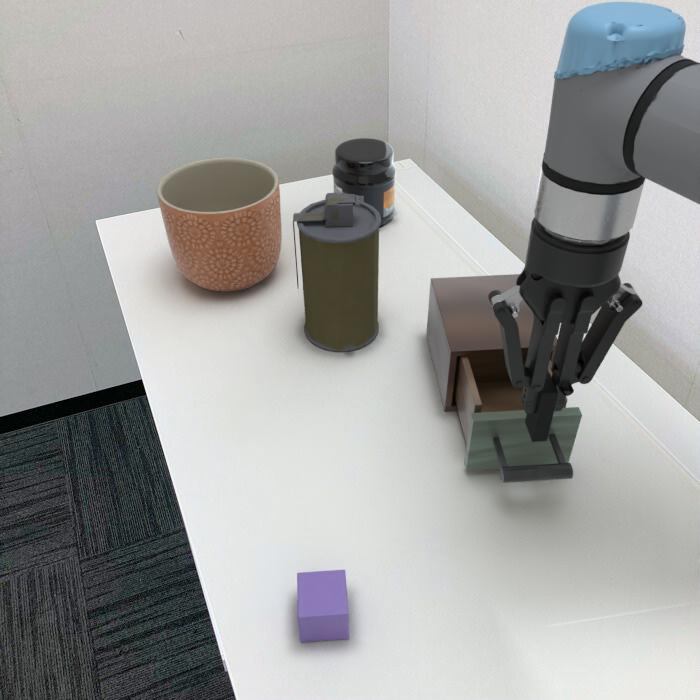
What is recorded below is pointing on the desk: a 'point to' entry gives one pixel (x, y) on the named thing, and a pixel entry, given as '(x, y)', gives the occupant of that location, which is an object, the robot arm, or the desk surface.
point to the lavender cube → (322, 605)
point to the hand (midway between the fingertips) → (535, 431)
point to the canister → (339, 271)
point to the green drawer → (508, 424)
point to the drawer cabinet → (468, 325)
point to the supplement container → (367, 173)
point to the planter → (222, 221)
